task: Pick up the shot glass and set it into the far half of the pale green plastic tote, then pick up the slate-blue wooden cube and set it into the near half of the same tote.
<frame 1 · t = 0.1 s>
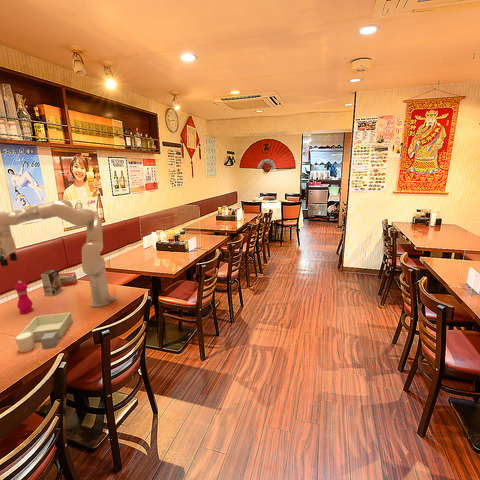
hand: (9, 263, 162), 31 cm above the table, fingers open, 9 cm apart
medicine box: (64, 285, 210), on the table
coffee box: (53, 293, 196), on the table
pepper mill: (26, 311, 171), on the table
shot glass: (27, 348, 135), on the table
tote: (49, 331, 149), on the table
cube: (50, 344, 138), on the table
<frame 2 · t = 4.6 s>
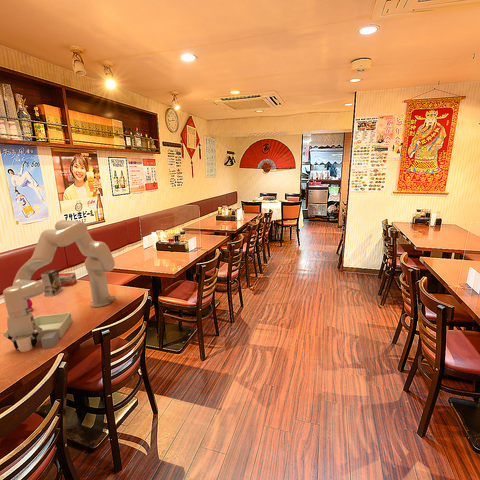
hand: (26, 346, 135), 1 cm above the table, fingers closed on shot glass, 6 cm apart
shot glass: (27, 348, 135), on the table, touching gripper
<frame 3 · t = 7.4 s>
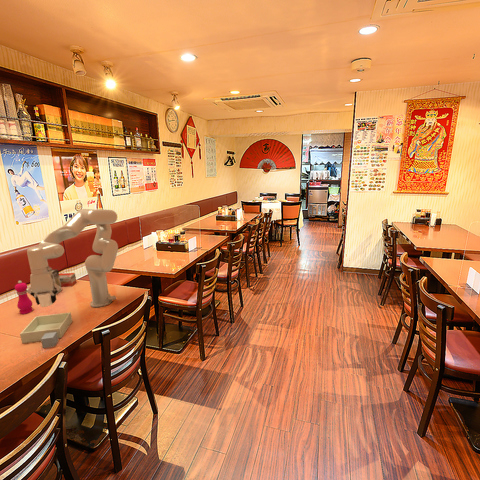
hand: (46, 302, 148), 15 cm above the table, fingers closed on shot glass, 6 cm apart
shot glass: (47, 304, 149), point 14 cm above the table, touching gripper
everything else where it was.
when the fingers open (3 cm above the table, at t = 10.0 s): shot glass drops 1 cm, resting on tote.
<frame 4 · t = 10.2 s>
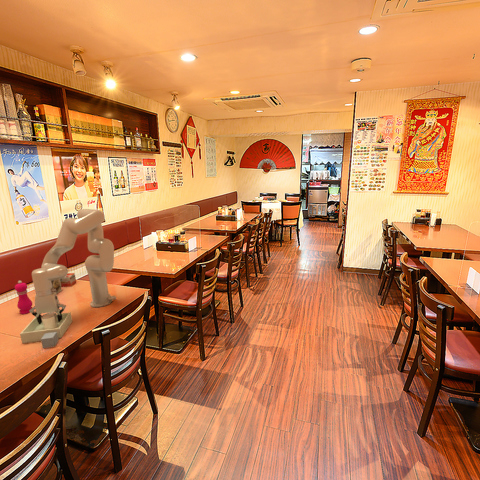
hand: (50, 321, 151), 4 cm above the table, fingers open, 8 cm apart
shot glass: (50, 327, 152), resting on tote
everything else where it was.
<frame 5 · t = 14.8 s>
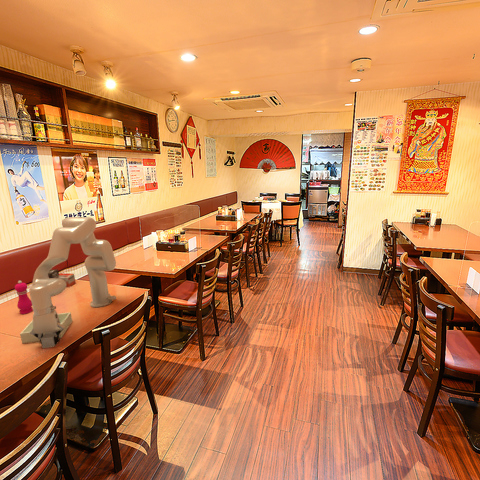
hand: (50, 343, 137), 1 cm above the table, fingers closed on cube, 5 cm apart
cube: (50, 344, 137), on the table, touching gripper
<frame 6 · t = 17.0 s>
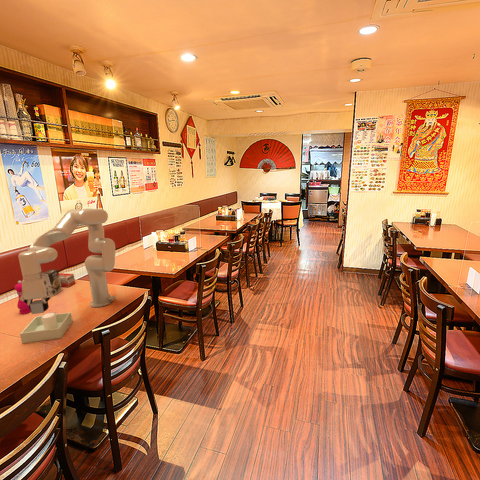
hand: (39, 310, 141), 15 cm above the table, fingers closed on cube, 5 cm apart
cube: (39, 311, 141), point 14 cm above the table, touching gripper
when the fingers open (3 cm above the table, at t = 19.4 s): cube drops 2 cm, resting on tote.
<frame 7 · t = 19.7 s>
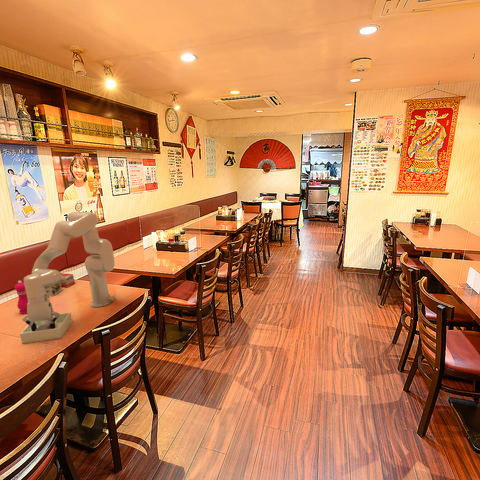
hand: (44, 330, 143), 3 cm above the table, fingers open, 7 cm apart
cube: (45, 335, 144), resting on tote
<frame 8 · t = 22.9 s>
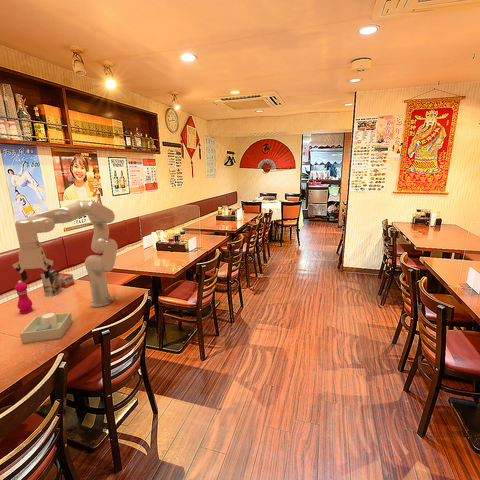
hand: (36, 278, 140), 30 cm above the table, fingers open, 9 cm apart
at the end: shot glass inside the target area on the tote (3.8 cm from its centre), point 0.3 cm above the tote's base; cube inside the target area on the tote (4.5 cm from its centre), point 0.5 cm above the tote's base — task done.
